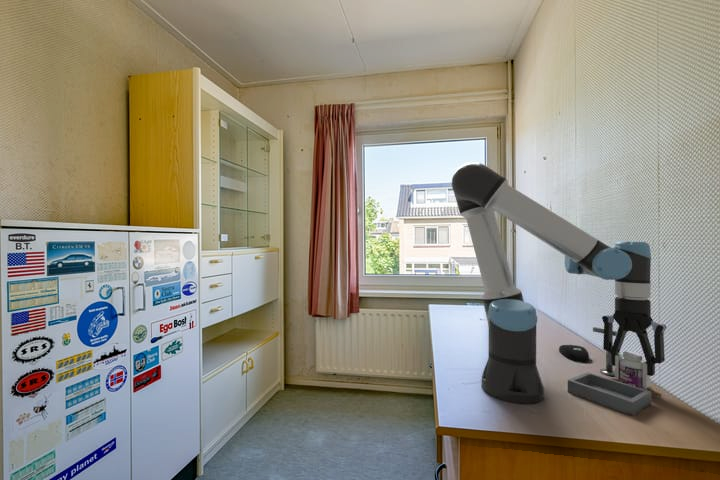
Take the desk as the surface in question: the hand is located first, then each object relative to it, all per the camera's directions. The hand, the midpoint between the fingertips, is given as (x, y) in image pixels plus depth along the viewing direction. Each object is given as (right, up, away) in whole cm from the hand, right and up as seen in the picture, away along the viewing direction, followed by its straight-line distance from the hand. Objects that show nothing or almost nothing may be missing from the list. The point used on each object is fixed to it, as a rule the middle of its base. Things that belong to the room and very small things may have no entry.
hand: (632, 382), depth 88 cm
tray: (-11, -2, -5) cm, 12 cm away
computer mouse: (+1, -3, +25) cm, 26 cm away
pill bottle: (0, -2, 0) cm, 2 cm away
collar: (0, -2, 0) cm, 2 cm away
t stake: (+2, -2, +10) cm, 11 cm away
